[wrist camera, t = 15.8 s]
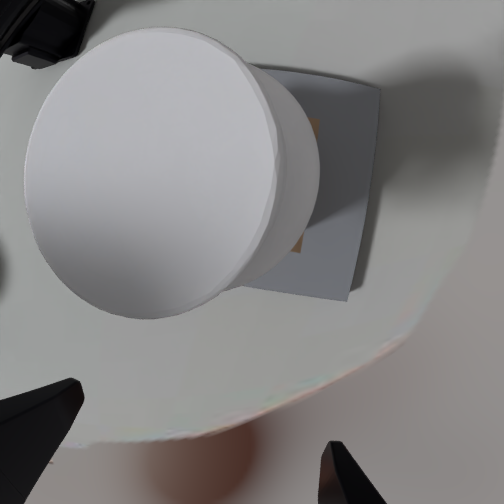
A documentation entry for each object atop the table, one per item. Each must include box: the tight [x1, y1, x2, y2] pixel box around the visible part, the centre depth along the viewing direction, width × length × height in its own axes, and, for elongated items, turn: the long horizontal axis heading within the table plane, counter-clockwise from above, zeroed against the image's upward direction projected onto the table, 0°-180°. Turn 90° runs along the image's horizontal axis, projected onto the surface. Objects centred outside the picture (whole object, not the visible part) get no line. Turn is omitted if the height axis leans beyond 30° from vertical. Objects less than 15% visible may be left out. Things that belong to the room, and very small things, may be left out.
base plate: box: [242, 69, 380, 302], centre depth 18 cm, size 14×14×1 cm
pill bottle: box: [24, 27, 320, 319], centre depth 8 cm, size 5×5×10 cm
